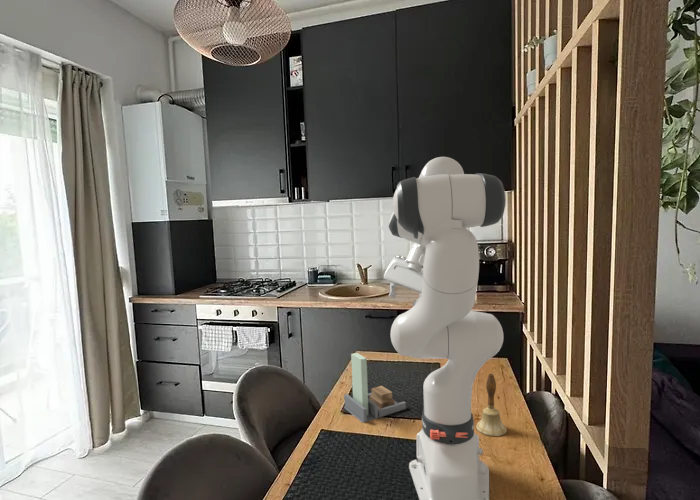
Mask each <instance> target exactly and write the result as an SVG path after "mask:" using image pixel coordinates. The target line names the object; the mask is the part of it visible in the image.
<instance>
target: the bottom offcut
mask: <svg viewBox="0 0 700 500" xmlns="http://www.w3.org/2000/svg"><path fill="white" fill-rule="evenodd" d="M370 400H371V401H373V402H374V403H375V404H377V405H378V409H381V408H384V407H387V406H391V405H394V404H395V402H396V401H395V399H393V398H392V400H390V401H387V402H384V403H381V402H380V401H378V400H377V399H375V398H374V397H372V395H371V396H370Z"/></svg>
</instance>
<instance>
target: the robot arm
mask: <svg viewBox="0 0 700 500" xmlns="http://www.w3.org/2000/svg"><path fill="white" fill-rule="evenodd" d="M506 205H507V194H506V191H505V188H504V184H503V182H502V181H501V180H500V178H498V177H497V176H496V175H492V174H488V173H483V172H482V173H480V172H479V173H478V172H476V173H474V174H472V173H469V174H468V173H465V172H464V169H463V167H462V165H461V164H460V163H459V162H458V161H457V160H455V159H453V158H451V157H449V156H439V157H435V158H433V159H431V160H428V162H427V163H426V164H425V165H424V167H423V168H422V169H421V172H420V174H419V176H418V177H417V178H416V177H415V176H413V177H412V176H411V177H409V178H406V179H403V180H400V181H399V182H398V183H397V185H396V189H395V191H394V194H393V198H392V209H393V210H392V211H393V212H391V215H390V218H389V221H388V229H389V231H390V233H391V234H392V236H393V237H394V236H395V237H397V238H401V239H404V240H406V241H409V242H412V243H413V244H412V245H411V247H410V249H409V252H408V254H407V256H402V255H397V256H394V257H393V258H392V259H391V262H390V263H389V265H388V266H387V268H386V269H385V272H384V274H383V279H384V280H386V281H387V282H389V290H390V291H389V294H388V297H389V298H392V299H395V298H396V296H397V293H396V290H395V289H396V288H397V287H398V286H400V287H403V288H406V289H409V290H412V291H414V292H416V293H419V295H418V296H419V297H418V298H417V299H416V300H415V299H413V301H412V303H411V305H412V307H411V308H410V309H407V311H405V312H403V313H401V314H399V315H397V317H395V318H394V321H393V323H392V324H391V327H390V333H389V335H390V341H391V344H392V346H393V348H394V349H395V351H396V353H398V354H399V355H401V356H405V357H409V358H415V359H421V360H422V359H423V360H424V359H431V360H432V359H435V360H436V359H437V360H440V359H443V360H444V359H445V360H446V359H447V361H446V363H445V364H444V365H443V366H441V367H440V368H437V369H436V370H433V371H432V372H430V373H429V374H428V375H427V377H425V379H424V381H423V385H422V386H423V389H422V390H423V394H422V395H423V409H422V413H421V425H422V426H421V427H422V429H421V430H420V431H419V432H418V433H416V459H413V460H411V461H410V462H409V463H408V469H409V472H410V475H411V478H412V481H413V485H414V487H415V491H416V493H417V496H418V500H490V469H489V466H488V465H487V463H486V462H483V460H480V456H483V448H480V437H479V435H478V434H477V433H475V428H474V427H475V423H474V422H475V421H474V415H473V413H472V396H473V395H472V394H473V386H474V381H475V379H476V377H477V374H479V371H480V369H481V368H482V367H483V366H484V364H485V363H486V362H488V361H489V360H490V359H491V358H493V357H494V356H496V355H497V354H498V352H500V350H501V348H502V347H503V343H504V331H503V327H502V324H501V323H500V321H499V320H498V318H497V317H496V316H495V315H494V314H492V313H487V312H481V311H478V310H477V311H475V310H473V308H474V305H475V304H476V297H477V288H478V283H479V282H478V281H479V273H480V255H479V252H480V251H479V247H478V246H479V244H478V240H477V238H476V236H475V235H474V233H473V232H472V231H471V230H469V228H475V227H480V228H484V227H488V226H492V225H495V224H498V223H499V222H500V221H501V219H503V216H504V212H505V209H506Z"/></svg>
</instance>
